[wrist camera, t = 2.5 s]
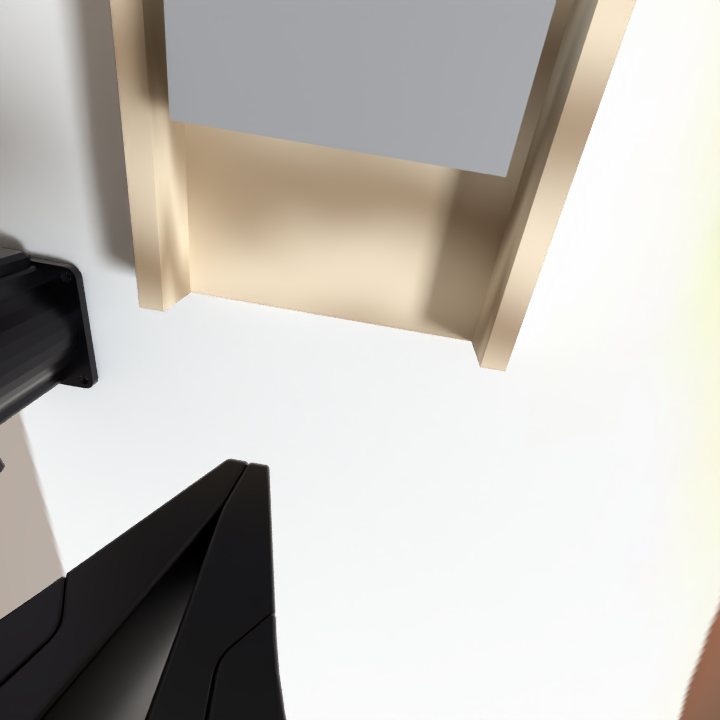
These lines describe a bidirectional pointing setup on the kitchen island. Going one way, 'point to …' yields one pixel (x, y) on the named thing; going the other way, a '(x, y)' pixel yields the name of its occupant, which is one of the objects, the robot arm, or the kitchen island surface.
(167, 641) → the robot arm
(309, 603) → the kitchen island surface
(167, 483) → the kitchen island surface
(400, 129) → the slate block
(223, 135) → the beige wooden tray
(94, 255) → the kitchen island surface
